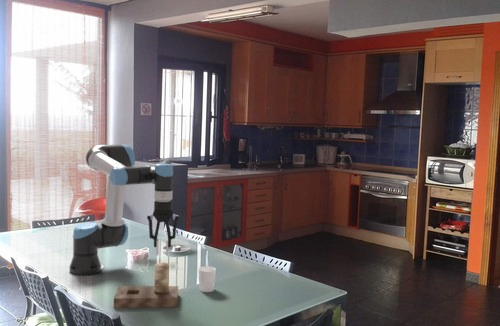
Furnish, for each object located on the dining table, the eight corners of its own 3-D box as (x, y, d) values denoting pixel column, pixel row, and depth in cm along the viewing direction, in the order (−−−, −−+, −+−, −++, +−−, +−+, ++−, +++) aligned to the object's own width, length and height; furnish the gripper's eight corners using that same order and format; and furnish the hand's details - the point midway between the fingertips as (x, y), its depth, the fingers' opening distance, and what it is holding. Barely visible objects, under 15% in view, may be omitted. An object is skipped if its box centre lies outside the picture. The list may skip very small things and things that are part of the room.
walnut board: (113, 307, 205) (113, 298, 204) (118, 295, 218) (118, 286, 218) (177, 307, 208) (177, 297, 207) (178, 294, 222) (178, 286, 221)
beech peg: (153, 303, 210) (154, 267, 209) (154, 298, 216) (155, 262, 215) (168, 303, 211) (169, 267, 210) (168, 298, 217) (169, 262, 216)
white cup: (198, 286, 233) (198, 266, 232) (215, 286, 233) (215, 266, 232) (197, 292, 225) (198, 271, 224) (215, 293, 226) (216, 271, 225)
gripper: (142, 201, 205) (141, 257, 207) (182, 202, 207) (181, 257, 209) (144, 198, 212) (143, 252, 214) (183, 199, 214) (181, 252, 217)
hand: (162, 254), depth 212 cm, fingers open, 3 cm apart
